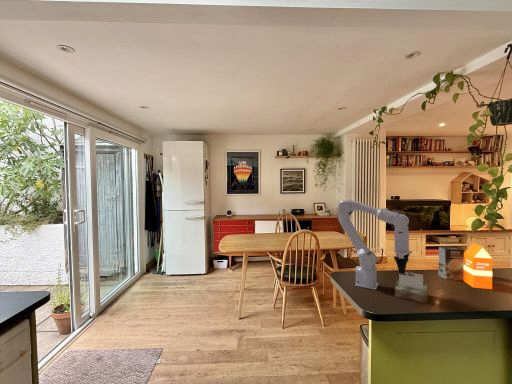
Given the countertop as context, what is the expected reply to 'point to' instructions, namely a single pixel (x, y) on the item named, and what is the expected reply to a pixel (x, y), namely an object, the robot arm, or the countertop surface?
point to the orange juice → (478, 267)
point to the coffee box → (451, 263)
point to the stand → (411, 293)
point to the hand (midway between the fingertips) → (402, 270)
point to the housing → (411, 280)
